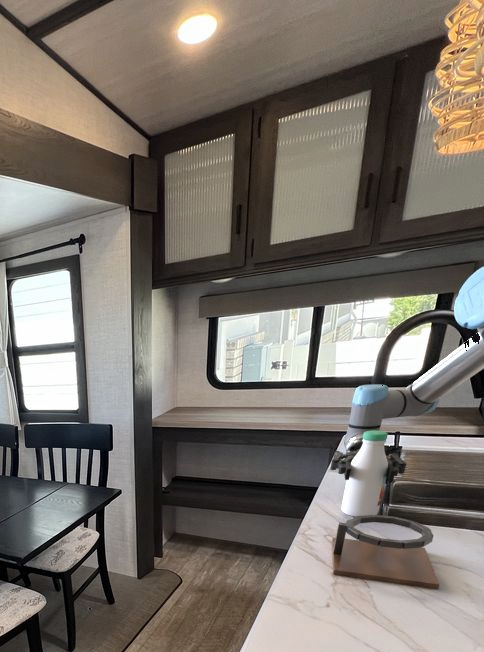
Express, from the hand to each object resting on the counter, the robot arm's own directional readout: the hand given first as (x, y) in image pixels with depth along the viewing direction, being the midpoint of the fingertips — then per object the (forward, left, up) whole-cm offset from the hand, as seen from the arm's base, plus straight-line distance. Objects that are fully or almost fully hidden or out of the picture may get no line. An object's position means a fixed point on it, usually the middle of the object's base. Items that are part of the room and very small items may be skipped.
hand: (369, 475), depth 108 cm
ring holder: (-2, +23, -11) cm, 26 cm away
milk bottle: (0, -5, -11) cm, 12 cm away
